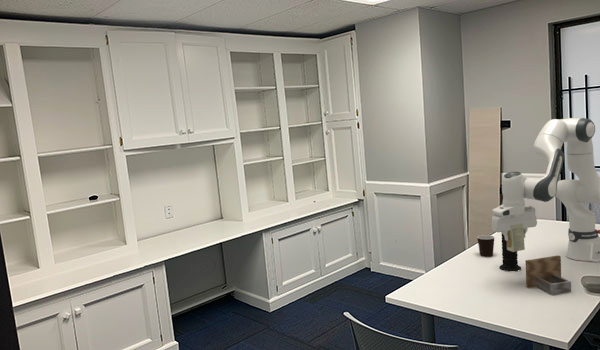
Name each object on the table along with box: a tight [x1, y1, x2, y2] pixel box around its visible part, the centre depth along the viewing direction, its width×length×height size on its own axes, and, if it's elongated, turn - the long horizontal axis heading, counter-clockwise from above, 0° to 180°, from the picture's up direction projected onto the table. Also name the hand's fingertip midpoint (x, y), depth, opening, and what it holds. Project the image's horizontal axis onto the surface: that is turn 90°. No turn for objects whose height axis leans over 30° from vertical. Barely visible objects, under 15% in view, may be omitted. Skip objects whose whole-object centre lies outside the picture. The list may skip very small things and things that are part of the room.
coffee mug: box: [476, 234, 495, 258], centre depth 247 cm, size 12×9×10 cm
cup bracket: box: [525, 254, 572, 296], centre depth 196 cm, size 16×12×12 cm
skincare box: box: [506, 224, 526, 252], centre depth 205 cm, size 6×4×12 cm
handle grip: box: [498, 232, 522, 272], centre depth 223 cm, size 10×26×10 cm
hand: (515, 238), depth 205 cm, fingers closed on skincare box, 6 cm apart
